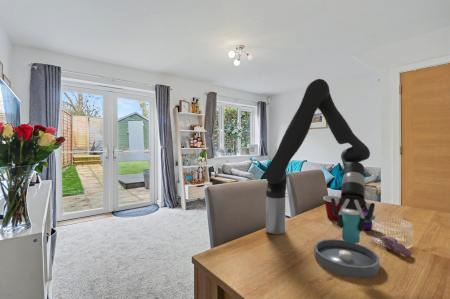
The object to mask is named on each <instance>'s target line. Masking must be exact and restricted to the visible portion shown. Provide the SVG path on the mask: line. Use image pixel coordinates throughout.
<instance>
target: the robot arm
mask: <svg viewBox="0 0 450 299" xmlns="http://www.w3.org/2000/svg"><path fill="white" fill-rule="evenodd" d="M317 110H319V111H320V113H321V114H322V116H323V118H324V120H325V122H326V124H327V125H328V128H329V130H330V133H332V135H333V137H334V139H335V141H336V142H337V144H338V145H344V144H348V145H351V146H350V147H348V148H346V149H343V150H342V152H341V154H340V159H341V161H342V166H343V177H342V182H341V190H340V191H341V192H340V196H339V197H340V198H339V199H334V198H332V199H331V202H332V209H333V215H334V216H337V217H338V220H337V226H338V227H339V228H340V229H342V209H345V208H348V209H356V210H358V211H360V223H359V232H360V233H363V232H362V231H364V223H365V221H371V219H372V216H373V215H374V212H375V209H376V208H375V207H376V205H375V203H374V202H371V203H369V202H366V199H365V195H366V194H365V193H366V192H365V190H366V180H365V166H364V165H363V164H362V163H361V162H364V161H366V160H368V159H369V158H370V156H371V152H370V149H369V148H368V146H367V145H366V144H365V143H364V142H363V141H362V140H361V139H360V138H359V137H357V136H356V135H355V133H354V131H353V130H352V128H351V127H350V125H349V123H348V122H347V120H346V119H345V118H344V117H343V116H344V115H342V113H340V111H339V110H338V108H337V106H336V105H335V103H334V101H333V98H332V95H331V93H330V86H329V84H328V83H327V81H326V80H325V79H323V78H317V79H313V80H312V81H310V82H309V84H308V85H307V87H306V89H305V91H304V94H303V97H302V99H301V102H300V105H299V106H298V109H297V110H296V111H295V114H294V115H293V117H292V119H291V121H290V122H289V125H288V126H287V128H286V130H285V132H284V134H283V136H282V138H281V140H280V142H279V146H278V148H277V150H276V153H275V154H274V156H273V157H272V159H271V161H270V162H269V164H267V167H266V169H264V170H265V171H264V177H265V180H266V182H267V188H266V190H265V195H266V196H265V233H268V234H271V235H272V234H273V235H282V234H284V233H286V191H287V169H288V166H289V164H290V161H291V159H292V158H293V157H294V156H295V155H296V153H297V152H298V151H299V149H300V147H301V146H302V144H303V143H304V141H305V139H306V137H307V135H308V134H309V131H310V129H311V126H312V122H313V118H314V116H315V113H316V112H317ZM338 203H340V204H341V205H342V207H341V210H340V211H339V212H338V211H336V206H337V205H338ZM365 206H366V207H367V209H368V210H369V211H368V214H367V215H366V216H364V214H363V212H362V209H363V208H364V207H365Z"/></svg>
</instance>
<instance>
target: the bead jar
mask: <svg viewBox="0 0 450 299" xmlns="http://www.w3.org/2000/svg"><path fill="white" fill-rule="evenodd" d="M359 223H360V211H358V210H356V209H348V208H345V209H342V228H341V229H342V234H341V235H342V236H341V240H344V241H347V242H350V243H357V244H360V241H361V240H360V239H361V237H360V236H361V232H359Z"/></svg>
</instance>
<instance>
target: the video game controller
mask: <svg viewBox="0 0 450 299" xmlns="http://www.w3.org/2000/svg"><path fill="white" fill-rule="evenodd" d="M379 239H380V241H381V243H382V244H383V245H385V247H386V248H387V249H388V250H390V251H393V252H394V253H396V255H399V254H402V255H403V256H405V257H411V256H412V252H411V250H409V249H407V247H406V246H405V245H404V244H403V243H401V241H399V240H397V238H395V237H393V236H388V235H387V234H386V235H383V236H381V237H379Z"/></svg>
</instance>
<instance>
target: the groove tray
mask: <svg viewBox="0 0 450 299" xmlns="http://www.w3.org/2000/svg"><path fill="white" fill-rule="evenodd" d="M313 256H314V259H315V262H316V263H318V264H319V266H321V267H322V268H324V269H326V270H327V271H330V272H331V273H332V272H333V273H334V274H337V275H340V276H343V277H346V278H353V279H354V278H355V279H369V278H374V277H376V276H377V275H378V274H380V256H379V255H378V254H377V252H376V251H373V250H372V249H370V248H368V247H367V246H364V245H362V244H360V243H350V242H347V241H344V240H343V239H337V238H328V239H322V240H318V241H317V242H316V243H315V244H314V246H313Z"/></svg>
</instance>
